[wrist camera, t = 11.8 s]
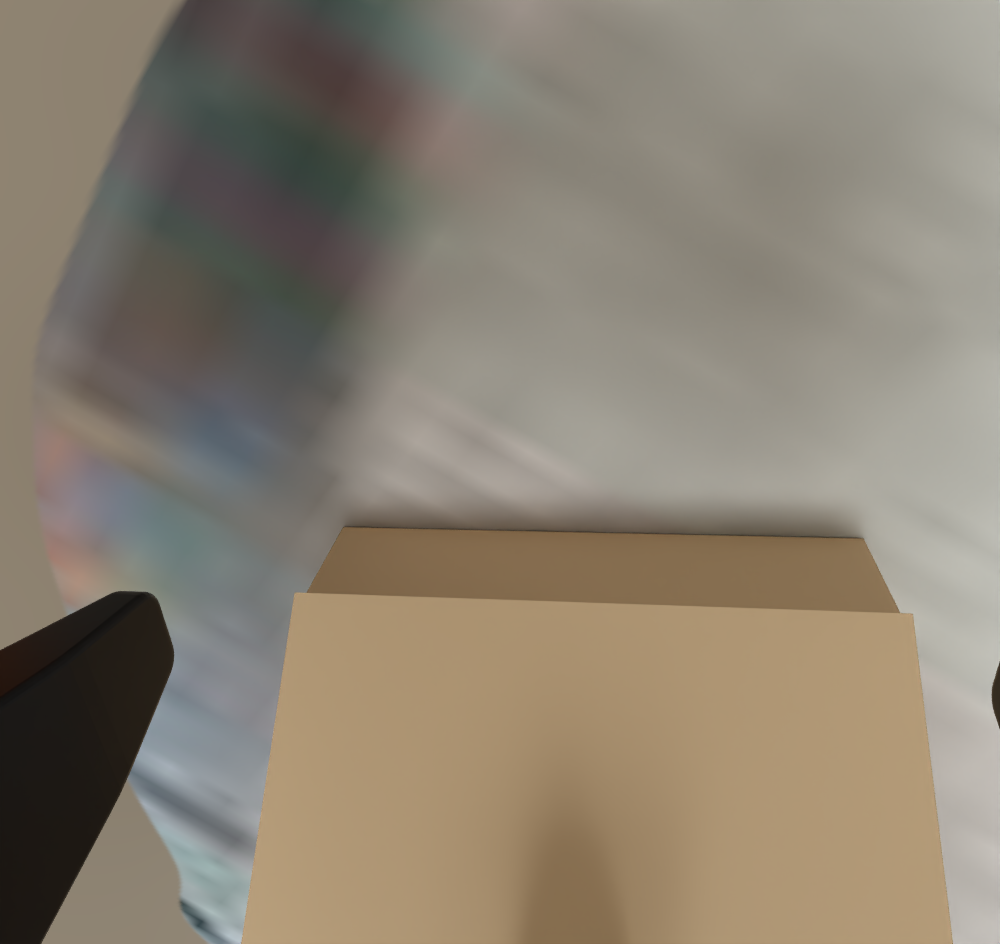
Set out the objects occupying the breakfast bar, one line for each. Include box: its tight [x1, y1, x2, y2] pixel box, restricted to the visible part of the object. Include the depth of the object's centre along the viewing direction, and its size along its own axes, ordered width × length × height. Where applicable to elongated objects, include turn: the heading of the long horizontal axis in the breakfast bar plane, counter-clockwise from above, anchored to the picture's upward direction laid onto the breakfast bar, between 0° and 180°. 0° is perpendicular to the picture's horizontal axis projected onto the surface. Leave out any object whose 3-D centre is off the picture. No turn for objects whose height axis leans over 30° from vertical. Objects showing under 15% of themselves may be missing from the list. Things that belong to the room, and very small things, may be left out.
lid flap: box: [241, 593, 953, 944], centre depth 16 cm, size 12×15×5 cm
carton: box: [307, 527, 900, 613], centre depth 24 cm, size 12×15×4 cm
